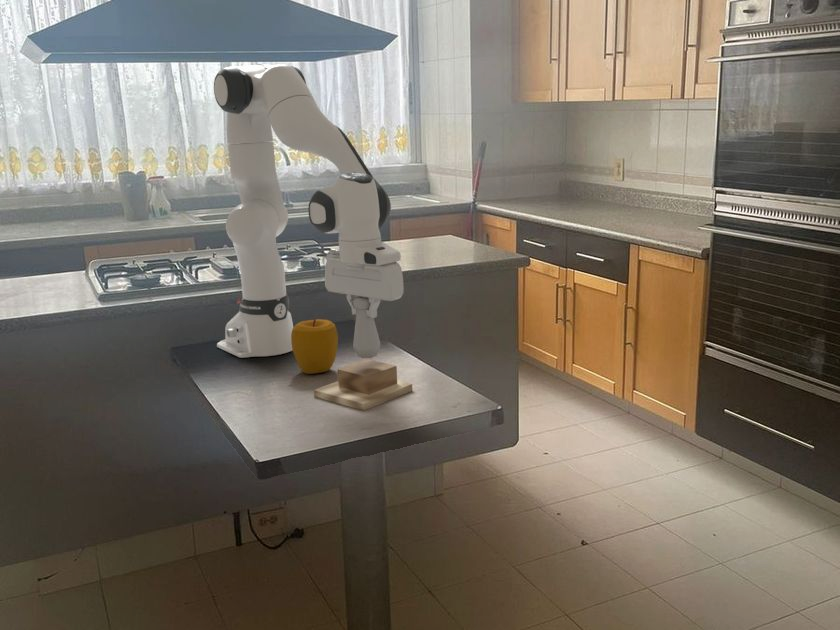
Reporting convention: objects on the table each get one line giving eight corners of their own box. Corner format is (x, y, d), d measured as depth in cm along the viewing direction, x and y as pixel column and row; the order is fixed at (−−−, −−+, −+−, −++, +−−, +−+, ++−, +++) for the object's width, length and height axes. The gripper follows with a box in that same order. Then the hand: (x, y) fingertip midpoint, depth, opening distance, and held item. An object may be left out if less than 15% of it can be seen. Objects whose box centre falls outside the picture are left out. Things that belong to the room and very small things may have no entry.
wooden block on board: (314, 396, 174) (312, 372, 173) (363, 378, 185) (361, 355, 184) (363, 410, 165) (362, 385, 163) (412, 390, 176) (411, 366, 174)
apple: (315, 382, 184) (311, 327, 181) (283, 374, 190) (279, 321, 187) (349, 370, 192) (346, 317, 189) (318, 362, 199) (314, 311, 195)
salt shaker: (378, 359, 171) (374, 299, 168) (351, 359, 172) (347, 300, 168) (382, 351, 177) (379, 293, 173) (357, 351, 177) (352, 293, 174)
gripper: (315, 250, 173) (320, 313, 176) (385, 258, 160) (389, 325, 163) (337, 246, 178) (341, 307, 181) (406, 253, 165) (409, 318, 168)
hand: (364, 316), depth 172 cm, fingers closed on salt shaker, 3 cm apart
